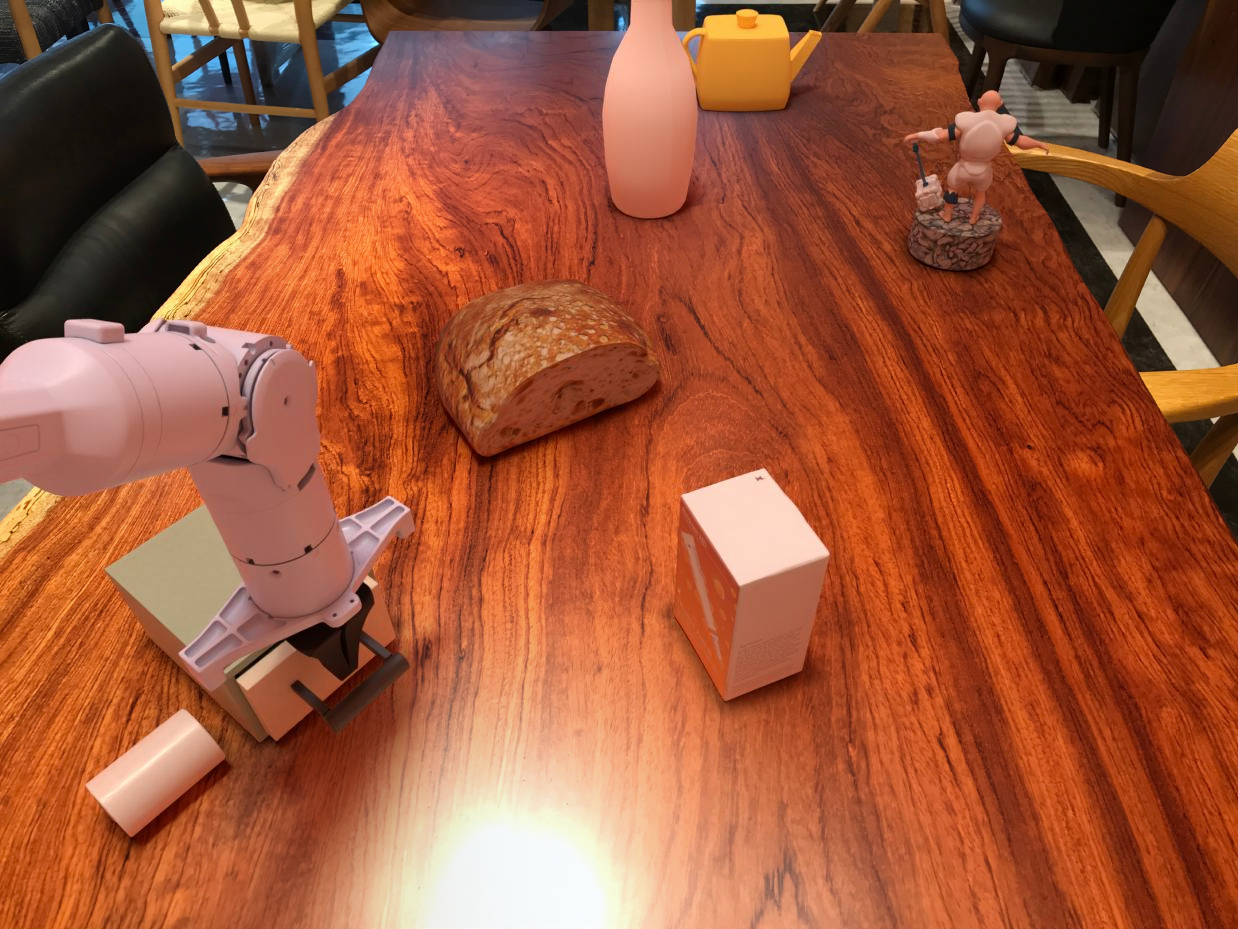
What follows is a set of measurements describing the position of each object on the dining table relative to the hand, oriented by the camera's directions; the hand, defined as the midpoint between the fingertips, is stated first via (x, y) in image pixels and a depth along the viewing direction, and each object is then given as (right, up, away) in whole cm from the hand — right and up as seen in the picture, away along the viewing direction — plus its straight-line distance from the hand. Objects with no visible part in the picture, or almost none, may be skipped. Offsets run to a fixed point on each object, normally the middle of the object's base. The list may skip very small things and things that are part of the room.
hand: (340, 666), depth 56 cm
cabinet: (-8, +1, +8) cm, 11 cm away
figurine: (+55, +37, +44) cm, 80 cm away
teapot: (+37, +68, +76) cm, 109 cm away
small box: (+26, 0, +7) cm, 27 cm away
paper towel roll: (-12, -6, 0) cm, 13 cm away
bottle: (+21, +45, +53) cm, 73 cm away
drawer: (-4, -1, +5) cm, 7 cm away
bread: (+10, +21, +29) cm, 37 cm away
